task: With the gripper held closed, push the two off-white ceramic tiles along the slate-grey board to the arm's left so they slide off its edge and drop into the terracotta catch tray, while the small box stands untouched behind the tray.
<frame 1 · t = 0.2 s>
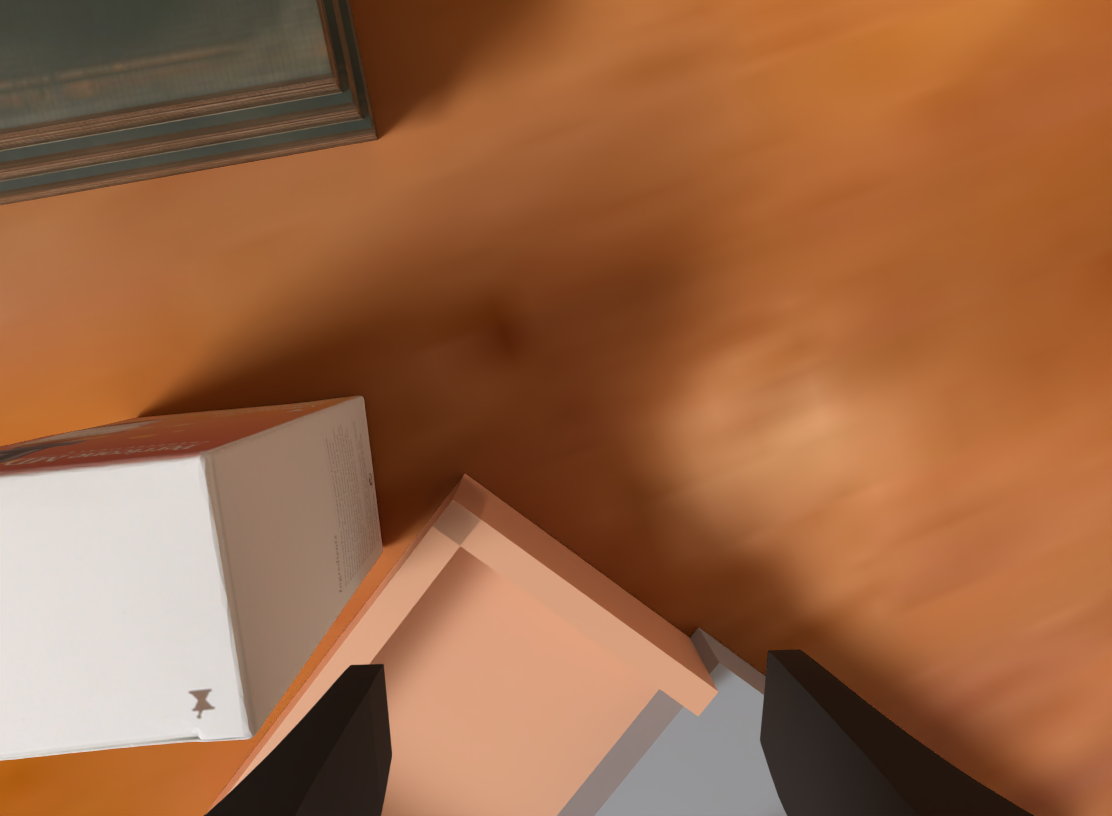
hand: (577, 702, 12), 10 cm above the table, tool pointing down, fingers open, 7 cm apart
catch tray: (452, 720, 23), on the table
small box: (261, 484, 22), on the table
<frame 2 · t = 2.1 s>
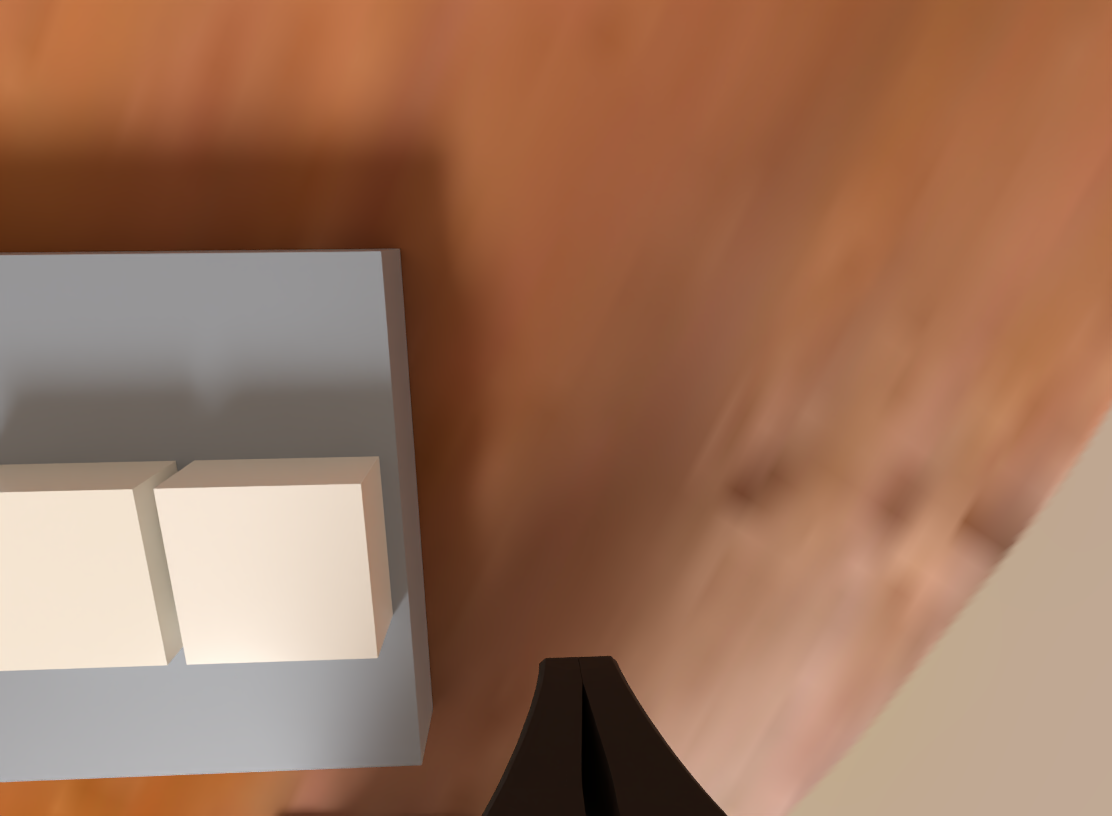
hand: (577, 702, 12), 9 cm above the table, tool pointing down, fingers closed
board: (182, 508, 21), on the table
tile 2: (100, 546, 18), point 2 cm above the table, touching board
tile 1: (297, 540, 18), point 2 cm above the table, touching board
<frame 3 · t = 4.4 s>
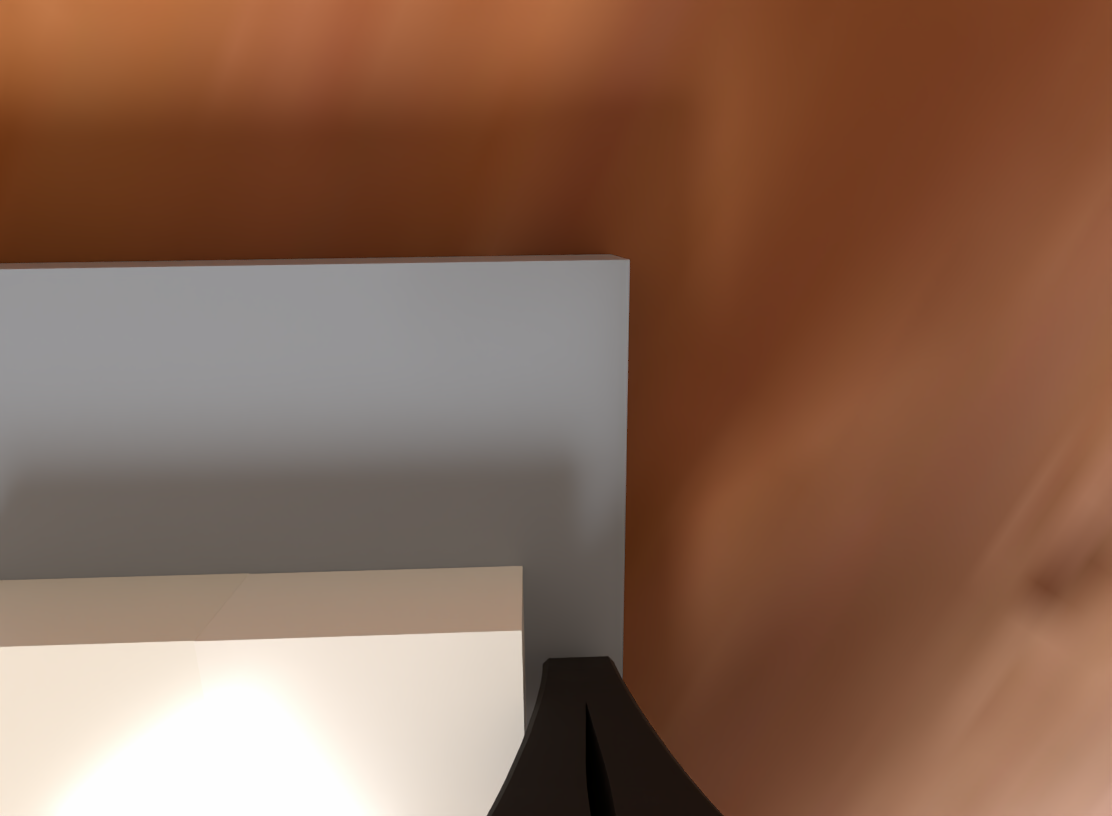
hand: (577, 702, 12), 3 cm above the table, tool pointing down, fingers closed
board: (283, 615, 15), on the table
tile 2: (134, 693, 12), point 3 cm above the table, touching tile 1
tile 1: (396, 684, 12), point 3 cm above the table, touching tile 2, gripper
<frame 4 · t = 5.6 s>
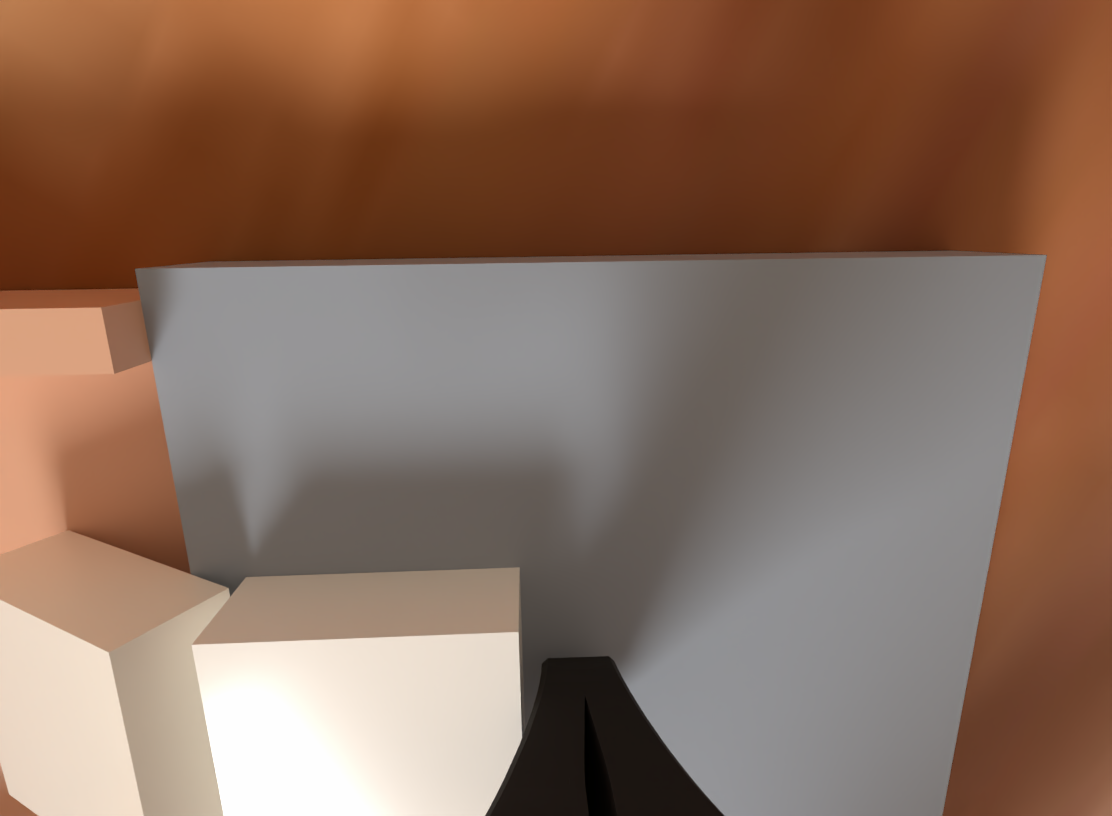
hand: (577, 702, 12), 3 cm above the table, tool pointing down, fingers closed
catch tray: (41, 624, 15), on the table
board: (588, 605, 15), on the table
tile 2: (162, 667, 13), point 2 cm above the table, tilted 29°, touching catch tray
tile 1: (395, 686, 13), point 3 cm above the table, touching board, gripper
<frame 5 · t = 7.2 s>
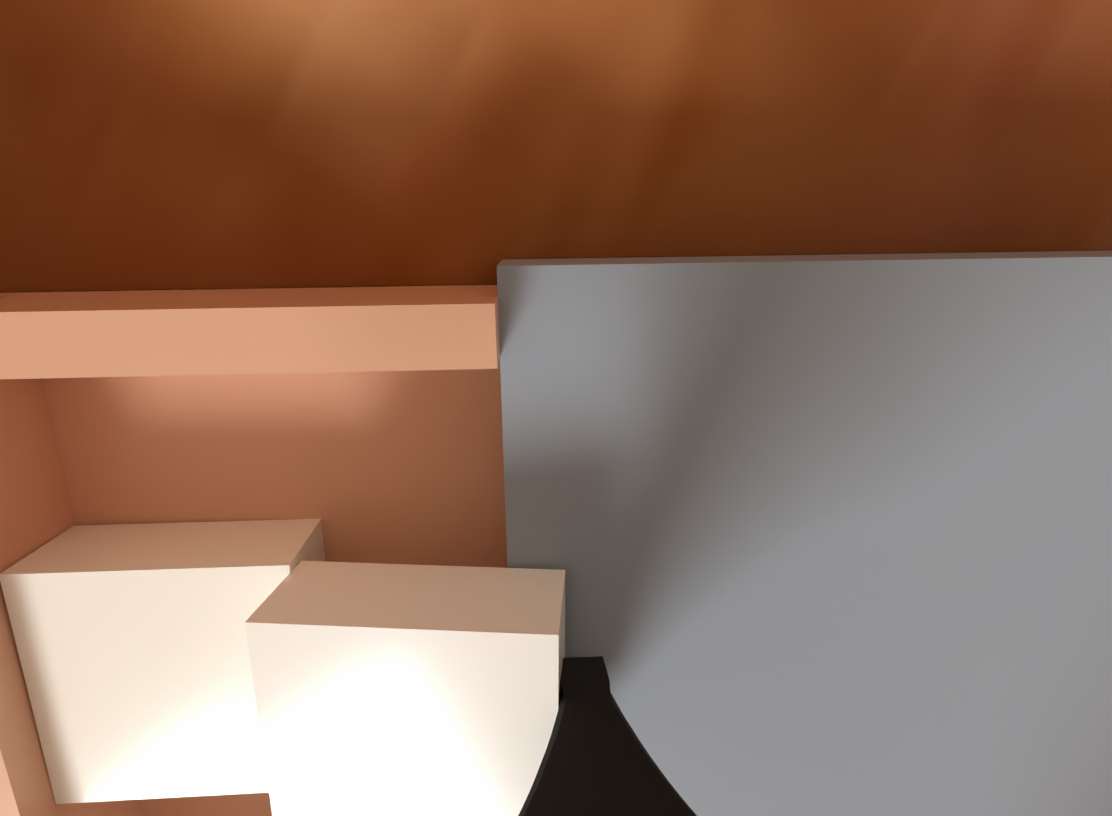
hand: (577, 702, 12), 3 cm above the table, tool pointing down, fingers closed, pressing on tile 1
catch tray: (297, 617, 15), on the table
board: (828, 598, 15), on the table
tile 2: (215, 627, 14), point 1 cm above the table, touching catch tray, tile 1
tile 1: (437, 679, 13), point 2 cm above the table, tilted 6°, touching tile 2, gripper
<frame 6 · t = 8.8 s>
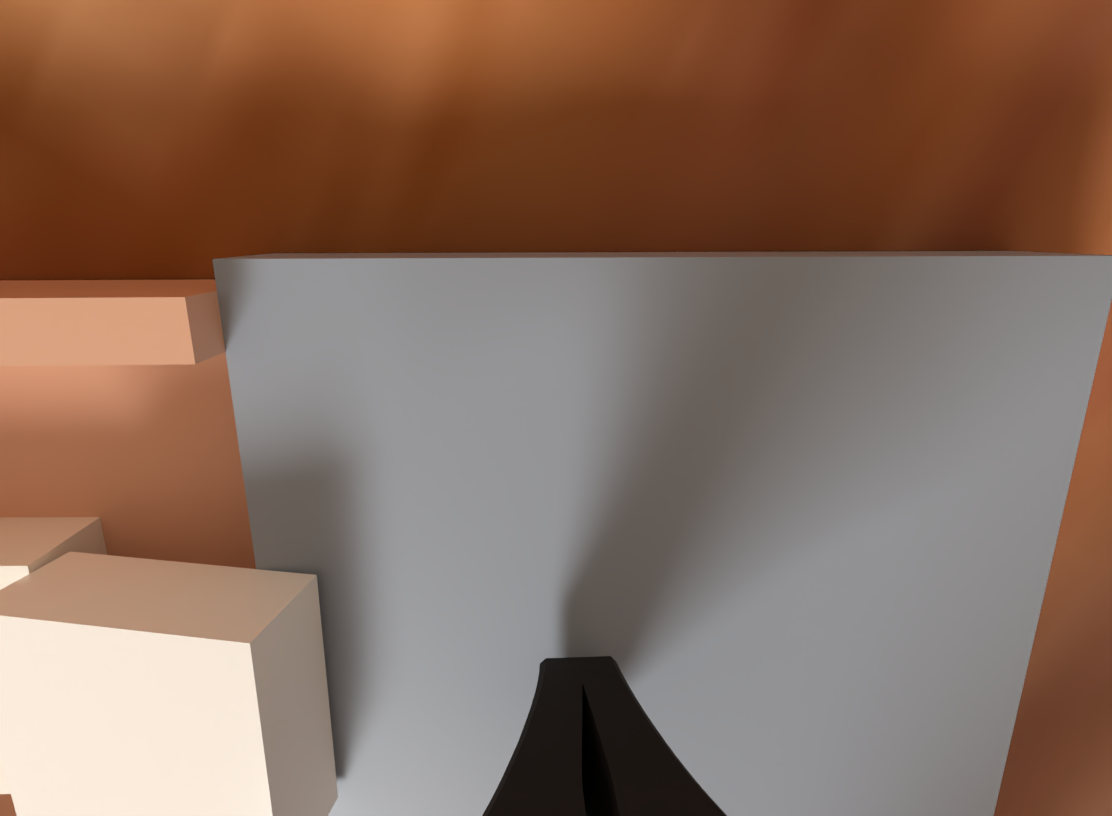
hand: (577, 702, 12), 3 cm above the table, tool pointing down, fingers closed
catch tray: (90, 616, 15), on the table
board: (638, 602, 15), on the table
tile 2: (0, 623, 14), point 1 cm above the table, touching catch tray, tile 1
tile 1: (207, 677, 13), point 2 cm above the table, tilted 11°, touching board, tile 2
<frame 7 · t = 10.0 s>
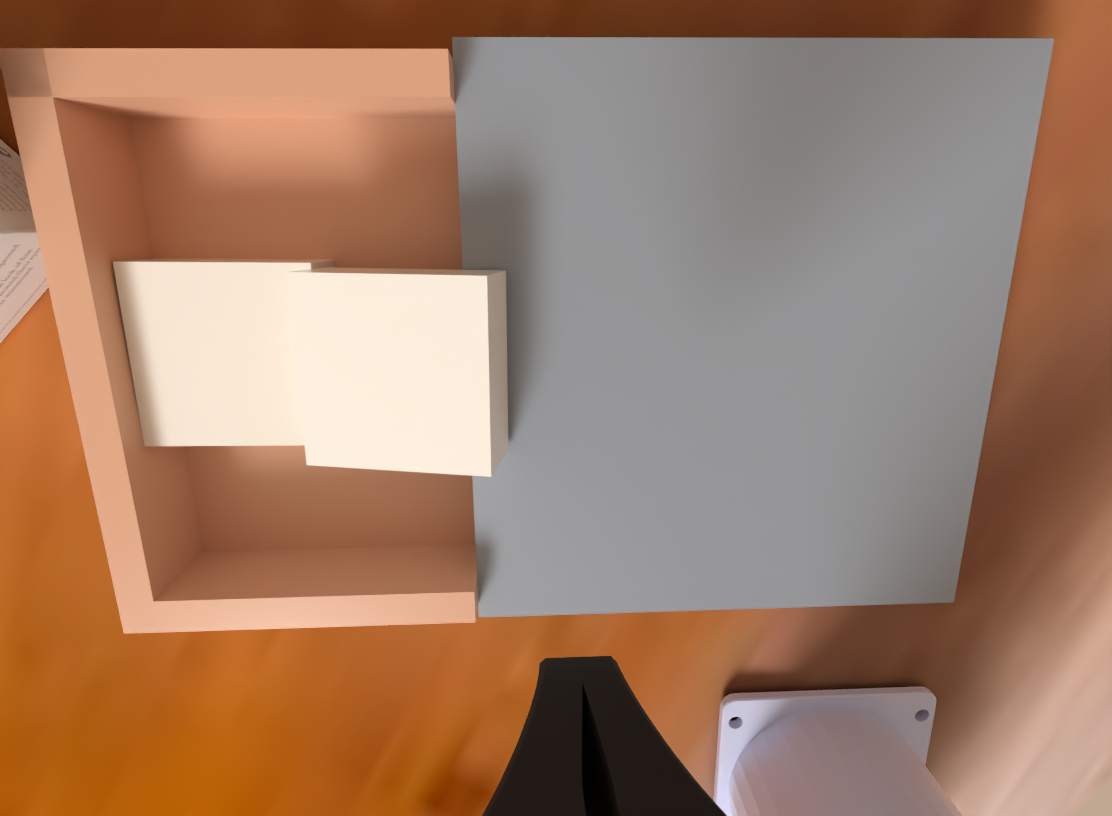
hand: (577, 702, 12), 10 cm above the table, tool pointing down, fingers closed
catch tray: (312, 349, 20), on the table
board: (712, 342, 20), on the table
tile 2: (255, 344, 19), point 1 cm above the table, touching catch tray, tile 1
tile 1: (419, 360, 18), point 2 cm above the table, tilted 11°, touching board, tile 2
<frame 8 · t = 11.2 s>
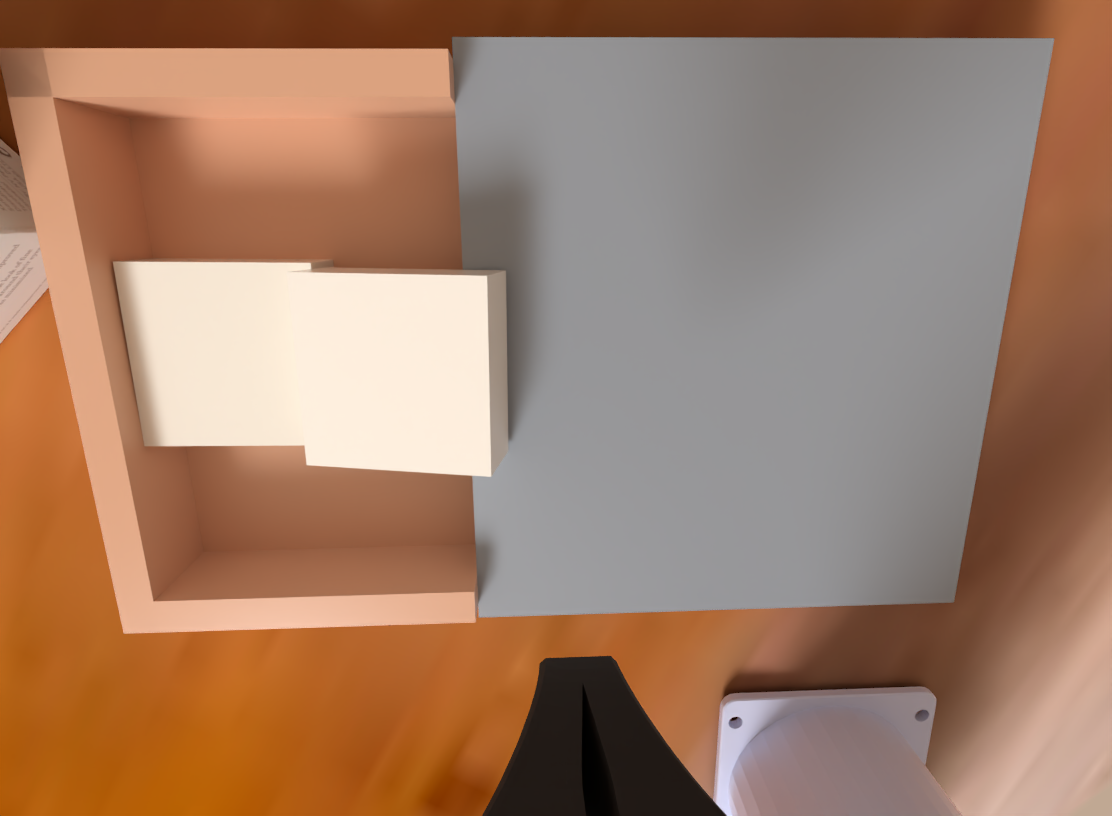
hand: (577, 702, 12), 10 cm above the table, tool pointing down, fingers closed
catch tray: (312, 349, 20), on the table
board: (712, 342, 20), on the table
tile 2: (255, 344, 19), point 1 cm above the table, touching catch tray, tile 1
tile 1: (419, 360, 18), point 2 cm above the table, tilted 11°, touching board, tile 2
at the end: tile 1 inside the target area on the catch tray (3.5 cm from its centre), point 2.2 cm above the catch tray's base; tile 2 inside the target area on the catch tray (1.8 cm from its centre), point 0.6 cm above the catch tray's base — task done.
